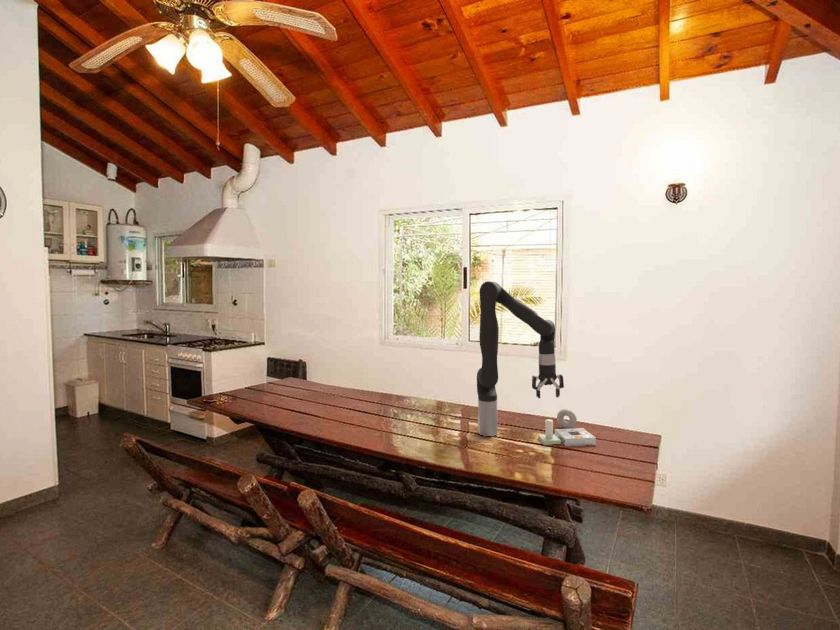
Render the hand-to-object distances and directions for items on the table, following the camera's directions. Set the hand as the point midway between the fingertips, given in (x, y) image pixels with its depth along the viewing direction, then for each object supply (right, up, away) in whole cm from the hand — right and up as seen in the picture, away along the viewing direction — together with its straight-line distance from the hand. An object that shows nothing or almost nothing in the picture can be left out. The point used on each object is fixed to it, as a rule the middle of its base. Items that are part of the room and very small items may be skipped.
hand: (548, 397), depth 211 cm
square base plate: (+1, -21, 0) cm, 21 cm away
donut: (+15, -19, +19) cm, 31 cm away
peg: (+1, -19, 0) cm, 19 cm away
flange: (+13, -20, +1) cm, 24 cm away
